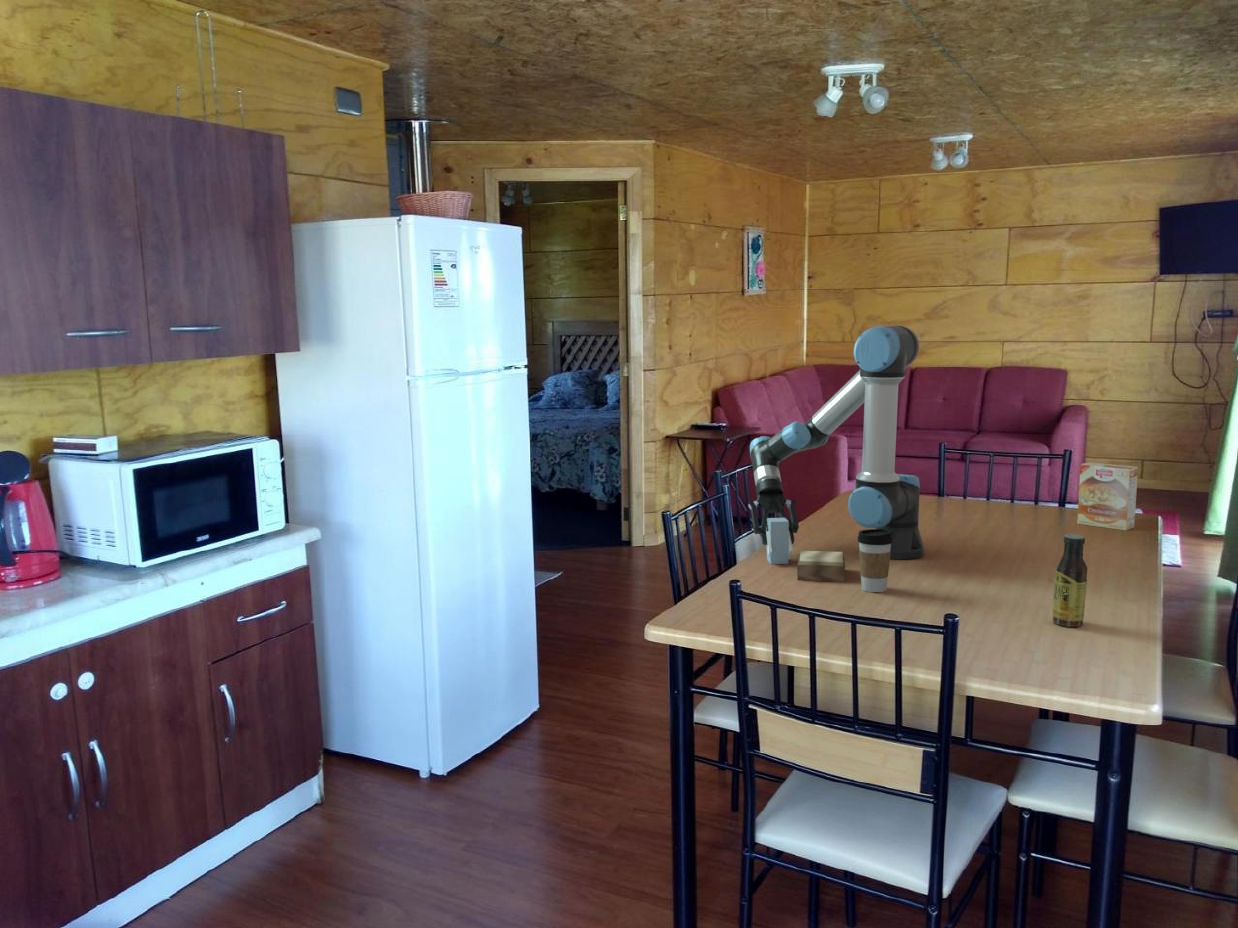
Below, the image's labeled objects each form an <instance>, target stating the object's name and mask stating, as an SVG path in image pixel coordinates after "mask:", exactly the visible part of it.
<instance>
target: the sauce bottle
mask: <svg viewBox="0 0 1238 928" xmlns="http://www.w3.org/2000/svg"><path fill="white" fill-rule="evenodd" d="M1085 540H1086V537H1085V536H1084V535H1080V534H1076V533H1075V534H1074V533H1071V534H1070V533H1069V534H1068V533H1067V534H1065V535H1064V537H1063V546H1064V547H1063V552H1062V553H1063V554H1062V556H1061V558H1060V560H1059V562H1058V565H1057V566H1056V569H1055V577H1054V579H1055V580H1054V586H1053V587H1054V590H1053V599H1052V600H1053V603H1052V621H1053V623H1054V624H1055V625H1058V626H1061V627H1064V628H1078V627H1081V626H1083V624H1084V621H1083V620H1084V618H1085V608H1086V607H1085V606H1086V597H1087V596H1086V595H1087V584H1088V583H1087V582H1088V580H1087V578H1088V577H1087V576H1088V566H1087V564H1086V562H1085V560H1084V559H1083V558H1084V553H1083V552H1084V545H1085V542H1086V541H1085Z"/></svg>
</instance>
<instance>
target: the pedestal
mask: <svg viewBox="0 0 1238 928" xmlns="http://www.w3.org/2000/svg"><path fill="white" fill-rule="evenodd" d="M797 558H798V559H797V567H796V568H797V569H796V571H797V574H796V575H797V581H815V582H818V581H819V582H838V583H839V582H841V583H842V582H845V581H846V580H845V579H846V564H845V563H846V562H845V561H846V560H845V555H844V554H843V551H826V550H821V551H820V550H800V553H798V555H797Z"/></svg>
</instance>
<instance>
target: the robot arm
mask: <svg viewBox="0 0 1238 928" xmlns="http://www.w3.org/2000/svg"><path fill="white" fill-rule="evenodd" d="M919 351H920V342H919V338H918V337H917V334H916V333H915V332H914V331H913V330H912V329H910V328H909V327H907V326H903V325H886V326H885V325H879V326H874V327H871V328H868V329H866V330H865V331H863V332H862V333H861V334H860V335H859V336H858V337H857V339H856V341H855V344H854V347H853V356H854V357H853V358H854V361H855V363H856V364H857V366H858V367H859V370H858V371H857V372H856V373H855V374H854V375H853V376H852V377H851V378H850V379H849V380H848V381H847V382H846V383H845V384H844V385H843V386H842V387H841V388H840V389H839V390H838V391H837V392H835V393H834V395H833V396H832V397H831V398H830V399H829V400H828V401H826V403H824V404H823V405H822V406H821V408H819V409H817V411H816V412H815V413H813V415H812V416H811V417H810V418H809V419H808V420H807V421H806V422H804V423H802V422H800V421H793V422H791V424H789V425H786V426H784V427H783V428H782V429H781V430H780V431H778V432H777V433H776V434H774V435H773V436H771V437H770V436H766V435H765V436H764V435H763V436H762V435H761V436H760V437H756V438H754V439H753V440H751V442H750V445H749V454H750V455H749V457H750V460H751V465H752V469H753V478H754V484H755V491H756V496H757V499H756V500H754V501H753V500H749V501H748V507H747V508H748V509H749V511H750V514H751V521H752V522H751V523H752V527H753V534H755V535H759V536H760V537H761V542H762V545H763V546H766V554H767V553H768V556H771V554H772V547H771V541H770V535H769V531H767V518H769V514H773V513H774V514H776V515H777V517H778V518H786V519H787V520H788V521H789V541H788V557H789V556H790V557H791V556H792V555H793V552H794V550H793V545H794V542H795V536H794V534H797V533H798V531H799V527H800V525H799V521H798V516H797V511H796V507H795V506H796V501H797V500H796V499H791V500H789V499H787V498H786V496H785V495H784V489H783V484H782V483H783V482H782V478H781V473H780V467H779V463H781V462H782V461H784V460H785V459H787V458H789V457H790V456H792V455H794V454H796V453H799V452H803V451H807V450H812V449H814V450H815V449H818V448H820V447H822V446H824V445H825V444H827V442H828V440H829V438H830V437H829V436H831V434H833V432H835V431H836V429H838V428H839V427H840V426H841V425H842V424H844V422H845V421H846V420H848V418H849V417H851V415H852V414H854V413H855V412H856V410H858V409H859V408H860V407H861V406H862V405H863V404H864V406H863V407H864V408H863V409H864V410H863V411H864V412H863V431H862V432H863V435H862V436H863V437H862V460H861V471H859V473H858V474H856V476H855V489H854V490H853V491H852V493H851V494H850V495H849V498H848V502H847V506H848V512H849V514H850V517H851V518H852V519H853V520H854V521H855V522H856V523H857V524H858V525H860V526H862V527H864V528H866V529H888V530H891V531H892V538H893V540H892V541H893V542H892V543H891V547H890V550H891V555H890V560H914V559H918V558H922V557H923V556H924V555H925V545H924V541H923V539H922V534H921V531H920V529H919V523H920V522H919V521H920V520H919V517H920V493H921V492H920V491H921V487H920V478H919V477H918V476H917V475H913V474H902V473H896V472H895V470H896V469H895V467H896V445H897V443H896V442H897V426H898V425H897V424H898V423H897V422H898V403H899V401H898V399H899V385H900V383H901V382H902V381H903V380H904V379H905V378H906V369H908V368H909V367H910V366H911V365H912V364H913V363H914V361H915V360H916V359H917V357H918V355H919ZM785 505H786V507H787V509H788V512H789V518H788V516H787V514H786V511H785V508H784V507H785ZM758 507H759V508H761V509H762V510H763V513H762V520H761V527H760V523H759V515H758V509H757V508H758ZM789 519H790V520H789Z"/></svg>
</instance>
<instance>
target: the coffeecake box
mask: <svg viewBox="0 0 1238 928" xmlns="http://www.w3.org/2000/svg"><path fill="white" fill-rule="evenodd" d="M1138 474H1139V467H1138V466H1133V465H1123V464H1122V465H1121V464H1111V463H1102V462H1091V461H1088V462H1083V463H1081V464H1080V469H1079V483H1078V484H1079V487H1078V503H1077V521H1076V522H1077V525H1083V526H1090V527H1097V528H1098V527H1099V528H1104V529H1112V530H1119V531H1129V530H1130V529H1133V528H1135V518H1136V504H1137V502H1136V501H1137V492H1138V491H1137V488H1138V487H1137V486H1138V476H1139V475H1138Z"/></svg>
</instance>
